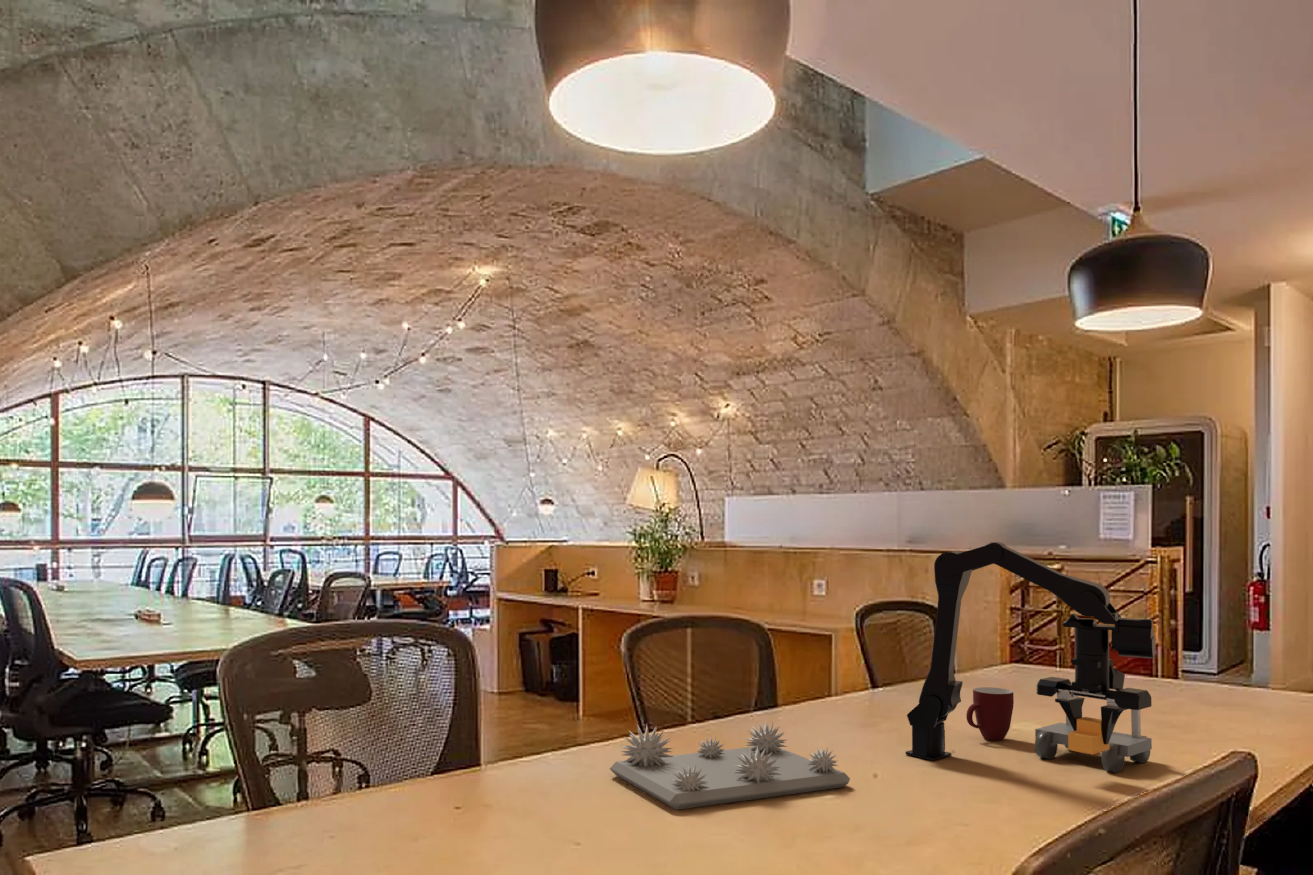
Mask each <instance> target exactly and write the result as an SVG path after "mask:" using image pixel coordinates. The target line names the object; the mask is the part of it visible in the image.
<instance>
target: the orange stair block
mask: <svg viewBox="0 0 1313 875" xmlns="http://www.w3.org/2000/svg"><path fill="white" fill-rule="evenodd" d="M1106 750H1109V743H1108V744H1104V743H1103V737H1102V721H1101V718H1093V717H1088V716H1082V718H1079V719H1077V730H1076V731H1073V732H1069V733H1068V751H1072V752H1076V753H1077V752H1078V753H1082V754H1088V755H1096V754H1100V753H1102V752H1103V751H1106Z"/></svg>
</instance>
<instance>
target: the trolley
mask: <svg viewBox="0 0 1313 875" xmlns="http://www.w3.org/2000/svg"><path fill="white" fill-rule="evenodd" d="M1085 692H1086V691H1085ZM1097 694H1099V693H1097ZM1130 718H1131V720H1130V721H1131V722H1130V723H1131V726H1130V727H1131V734H1129V733H1123V732H1116V731H1113V732H1112V735H1111V738H1110V741H1109V750H1106V751H1103V752H1101V759H1100V760H1101V765H1102V767H1103V769H1104V770H1105V771H1108V772H1111V773H1117V774H1118V773H1120V772H1122V771H1123V769H1124V766H1125V762H1126V761H1125V758H1129V759H1130V761H1131V762H1134V763H1140V764H1146V763H1147V762H1148V761H1149V759H1150V755H1151V750H1152V737H1148V736H1146V735H1142V734H1141V733H1142V732H1141V731H1142V730H1141V729H1142V728H1141V724H1142V723H1141V710H1132V709H1130ZM1073 731H1074V730H1073V728H1072V725H1071V723H1070V721H1069V719H1068V717H1067V715H1066V714H1065V722H1058V723H1053V724H1050V725H1046V726H1041V727H1038V728H1035V731H1034V732H1035V737H1034V738H1035V740H1034V741H1035V742H1034V749H1035V753H1036V755H1037V757H1039V758H1042V759H1048V760H1051V759H1054V758H1055V757H1056V754H1057V752H1058V745H1061V746H1062V745H1063V746H1064V747H1065V748H1066V749H1068V733H1069V732H1073Z"/></svg>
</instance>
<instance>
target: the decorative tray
mask: <svg viewBox="0 0 1313 875" xmlns="http://www.w3.org/2000/svg"><path fill="white" fill-rule="evenodd" d="M757 722H758V724H757V727H758V729H756V728H755V727H754V726H753V725H751V727H752V728H750V730H751V731H749V730H747V731H748V733H749V735H751V736H752V737H750V738H746V740H747V742H746V741H745V742H746V743H747V744H745V746H747V747H740V748H729V749H725V748H722V747H723V746H724V743H722V744H720V741H721V739H719V740H717V741H716V739H717V737H716V736H715V738H714V740H713V739H712V736H710V737H709V738H710V739H709V740H708V738H707V737H704V738H705V742H704V741H703V740H702V739H700V743H699V742H698V745H699V746H700V747H699V748H697V747H696V748H695V749H696V750H697V752H694V753H693V752H692V753H682V754H674V755H670V754H667V753H672V751H671V750H673V748H672V747H664V746H666V745H667V744H668V743H670V742H671V741H672V739H671V737H670V738H668V739H664V740H662V739H663V737H664V736H665V735H663V733H664V731H662V732H660V733H659V732H658V733H657V727H658V726H657V724H656V725H655V727H654V728H653V731H652V732H651V733H649V728H648V724H646V725H645V726H646V727H645V730H644V734H643V732H642V729H641V728H640V727H639V724H637V731H638V736H639V737H638V736H636V735H635V734H634V733H633V732H631V730H628V732H629V733H630V734H629V737H630V738H631V739H630V738H628V737H626V736H624V738H625V740H627V741H628V742H629V743H630V744H631V745H623V746H622V745H621V746H619V748H622V749H624V750H623V751H621V750H620V753H623V754H622V756H627V757H628V758H627V759H625V760H618V761H615V762H614V763H613V764H612V765H611V767H609V770H610V771H611V772H612V773H613V774H614V775H615V776H616V777H617V778H620V779H621V780H623V781H625V782H627V783H629V784H631V786H634V787H636V788H637V789H639V790H641V791H643V793H644V792H645V793H646V794H648V795H649V796H651V797H653V798H655V799H656V800H658V801H661V802H662V803H663V804H665V805H667V806H669V807H671V808H672V809H674V810H677V811H678V810H683V809H684V810H685V809H689V808H690V809H692V808H699V807H706V806H714V805H715V806H716V805H721V804H729V803H735V802H742V801H743V802H745V801H750V800H752V801H753V800H758V799H765V798H771V797H772V798H773V797H780V796H788V795H795V794H804V793H811V792H817V791H825V790H832V789H840V788H845V787H846V786H847V785H848V784H849V783H850V781H851V777H849V776H848V775H847V774H846V772H844V771H841V770H838V769H836V768H834V767H839V765H838V764H836V763H837V760H833V759H834V758H835V757H837V755H836V754H834V755H832V756H831V754H832V753H833V750H831V751H829V753H828V747H827V748H826V750H824V748H823V746H822V748H821V750H819V748H818V747H816V748H815V751H813V750H812V752H811V753H810V754H809V753H808V755H809V756H810V757H811V758H812V759H810V758H807V757H805V756H801V755H799V754H797V753H793V752H792V751H789V750H786V749H783V748H788V745H787V746H786V745H784V744H786V741H787V739H779V738H781V737H782V736H784V734H785V733H786V731H785V732H781V733H779V734H777V732H778V731H779V728H780V726H778V727H775V728H774V729H773V727H774V721H772V723H771V726H770V727H769V725H768V722H767V721H765V724H764V726H763V727H762V725H761V723H760V722H759V721H757ZM650 734H651V735H650ZM749 741H750V742H749Z"/></svg>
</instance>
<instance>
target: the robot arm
mask: <svg viewBox="0 0 1313 875" xmlns="http://www.w3.org/2000/svg"><path fill="white" fill-rule="evenodd" d="M993 564H994V565H995V566H999V567H1000V568H1002V569H1004V570H1007V571H1008V572H1010V573H1012V574H1014V575H1016V576H1019V577H1020V578H1022V579H1025V580H1026V581H1028V582H1030V583H1032V584H1034V585H1036V586H1038V587H1041V588H1042V589H1045V590H1047V591H1048V592H1050V593H1051V594H1053V595H1054V596H1056V597H1057V598H1058V599H1059V600H1061V601H1062V602H1063V603H1064V604H1066V605H1067V606H1068V607H1070V608H1071V609H1073V610H1074V611H1075V612H1076V613H1078V614H1079V615H1081V616H1083V617H1086V618H1083V617H1082V618H1081V617H1079V616H1078V615H1077V614H1076V613H1071V615H1070V616H1069V617H1068V619H1067V620H1066V621H1064V622H1063V623H1062V626H1063V627H1064V628H1073V629H1074V658H1071V660H1070V661H1071V665H1072V666H1074V681H1071V680H1070V679H1069V678H1063V677H1055V676H1049V677H1044V678H1040V679H1039V680H1038V681H1037V684H1036V694H1037V695H1038V696H1044V697H1053V696H1055V695H1056V698H1055V699H1054V702H1055V703H1058V704H1059V705H1060V706H1061V708H1062V711H1063V712H1064V714H1065V716H1066V715H1067V717H1068V719H1069V721H1070V723H1071V725H1072V728H1073V730H1074V731H1076V730H1077V719H1079V718H1083V704H1084V701H1085V698H1089V699H1097V700H1103V701H1106V705H1103V706H1100V719H1101V721H1102V737H1103V743H1104V744H1108V743H1109V741H1110V738H1111V735H1112V732H1114V730H1115V726H1116V724H1117V721H1118V719H1119V718H1120V716H1121V714H1122V713H1123V712H1124V711H1126V710H1131V709H1132V710H1140V711H1141V710H1143V709H1148V708H1150V707H1152V696H1151V693H1149V691H1148V690H1147V689H1140V688H1133V687H1126V688H1124V686H1125V685H1124V683H1125V677H1126V674H1125V673H1123V672H1122V671H1120V670H1118V669H1116V668H1115V667H1114V662H1113V659H1110V643H1109V642H1110V637H1109V636H1110V635H1109V633H1110V632H1109V631H1111V647H1112V648H1111V649H1112V650H1114V651H1115V652H1118V656H1119V657H1131V658H1143V659H1155V655H1156V636H1155V632H1154V623H1153V619H1152V618H1139V619H1138V618H1124V617H1122V616H1121V614H1120V613H1119V612H1118V610H1116V608H1115V607H1114V605H1113V604H1112V603H1111V596H1110V594H1109V591H1108V590H1107V588H1106V587H1105V586H1103V585H1102V584H1100V583H1098V582H1093V581H1090V580H1087V579H1084V578H1080V577H1076V576H1073V575H1068V574H1065V573H1062V572H1060V571H1058V570H1055V569H1053V568H1052V567H1049V566H1048V565H1046V564H1043V563H1041V562H1039V561H1037V560H1035V559H1034V558H1031V557H1029V556H1027V555H1025V554H1023V553H1021V552H1019V551H1016V550H1014V549H1013V548H1011V547H1009V546H1008V545H1006V544H1005V543H1003V542H1000V541H993V542H989V543H986V545H982V546H980V547H976V548H972V549H970V550H966V551H960V550H952V551H945V552H942V553H941V554H940V555H938V556H937V557H936V559H935V560H934V565H933V567H934V569H933V570H934V583H935V588H936V592H937V598H938V600H937V609H936V618H935V623H934V624H935V626H934V635H933V642H932V651H931V661H930V668H929V672H928V674H927V676H926V678H925V680H924V683H923V685H922V689H921V692H920V695H919V698H918V704H917V705H916V706H914V708H913V709H911V710H910V711H909V712H908V713H907V714H906V717H907V720H908V723H909V725H910V726H911V748H912V749H911V750H906V751H905V755H908V756H912V757H915V758H916V757H917V758H921V759H925V760H930V761H936V760H940V759H944V758H948V757H950V756H952V752H948V751H945V750H946V731H945V721H947V719H948V716H949V714H951V713H952V712H953V711H955V709H956V708H957V706H958V704H959V703H961V702H962V698H961V690H962V687H963V681H962V680H956V677H955V672H954V671H955V669H954V668H955V658H956V650H957V642H958V633H959V624H960V623H959V622H960V615H961V606H962V598H963V597H964V594H965V593H966V590H967V587H968V585H969V583H970V579H971V576H972V572H973V571H975V570H978V569H983V568H986V567H988V566H992V565H993ZM1087 617H1088V618H1087ZM1090 617H1091V618H1090ZM1092 617H1093V618H1092ZM1097 621H1098V622H1100V623H1102V624H1098V623H1097ZM1085 691H1086V692H1085ZM1097 693H1099V694H1097Z"/></svg>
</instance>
